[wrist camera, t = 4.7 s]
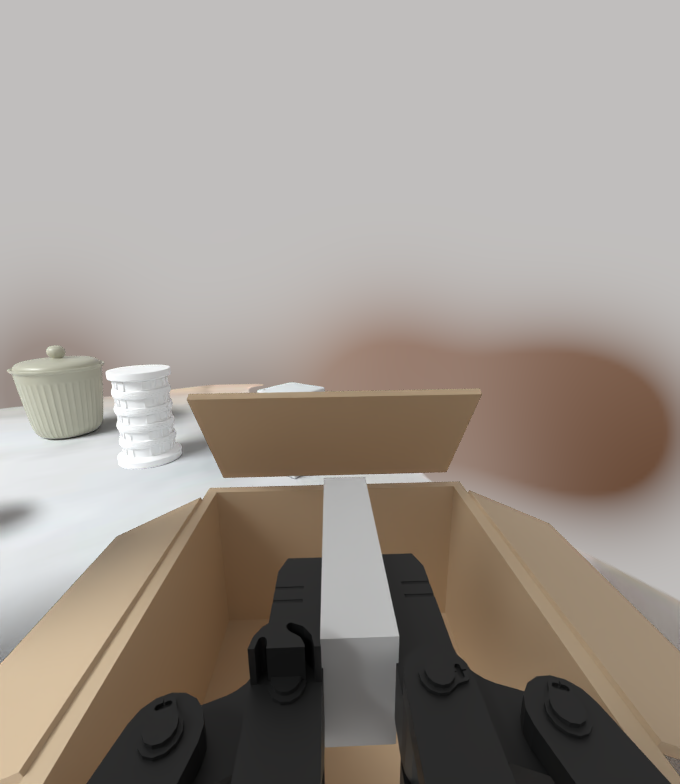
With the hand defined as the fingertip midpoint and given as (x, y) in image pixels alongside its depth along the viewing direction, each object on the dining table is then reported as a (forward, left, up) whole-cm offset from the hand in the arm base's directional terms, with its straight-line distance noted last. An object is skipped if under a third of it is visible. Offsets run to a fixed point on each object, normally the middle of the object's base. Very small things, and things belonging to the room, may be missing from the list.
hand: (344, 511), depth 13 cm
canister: (-98, -1, -22) cm, 100 cm away
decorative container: (-68, +9, -22) cm, 72 cm away
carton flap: (-14, +12, -7) cm, 19 cm away
